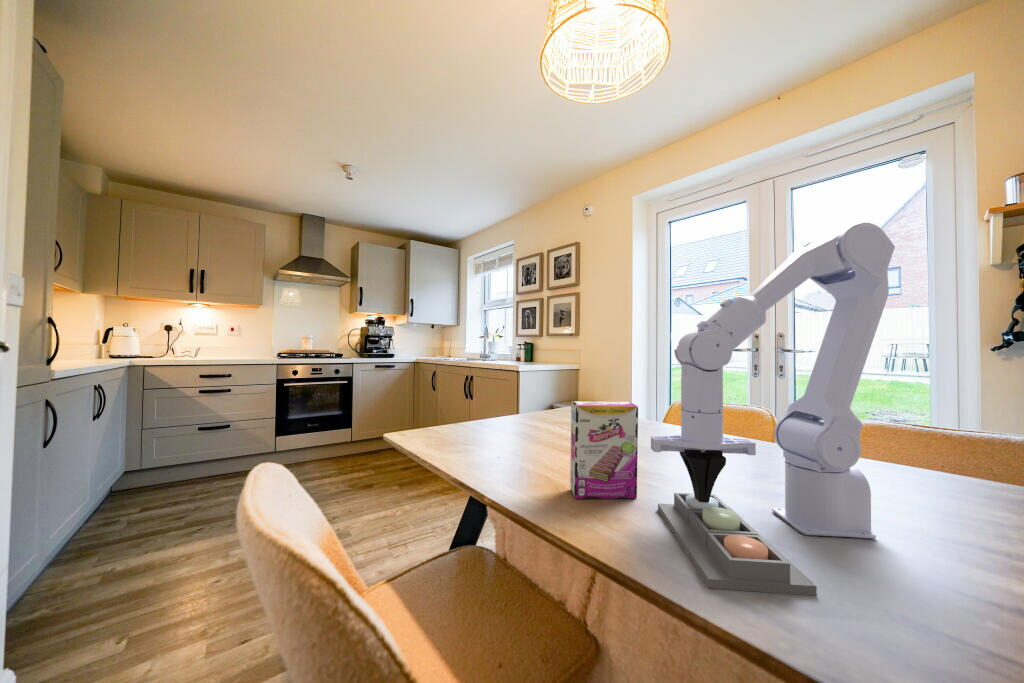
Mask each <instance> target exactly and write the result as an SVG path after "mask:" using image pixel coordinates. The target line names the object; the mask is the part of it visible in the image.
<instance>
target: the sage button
mask: <svg viewBox="0 0 1024 683" xmlns="http://www.w3.org/2000/svg"><path fill="white" fill-rule="evenodd" d="M733 511H734V510H733ZM733 511H731V510H728V509H724V508H719V507H706V508H704V509H703V524H704V525H705V526H706V527H707V528H708V530H726V531H740V517H741V515H739V513H737V512H736V511H735V512H736V513H735V512H733Z"/></svg>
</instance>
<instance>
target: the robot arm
mask: <svg viewBox="0 0 1024 683" xmlns="http://www.w3.org/2000/svg"><path fill="white" fill-rule="evenodd" d="M895 247H896V246H895V244H894V243H893V242H892V240H891V239H890V238H889V236H888V235H887V234H886V232H885V231H884V230H883V229H882V228H881V227H879V226H878V225H877V224H875V223H871V222H858V223H856V224H855V223H854V224H853V225H851V226H849V227H848V228H845V229H843V230H840V231H837V232H835V233H832V234H829V235H827V236H824V237H820V238H817V239H813V240H810V241H808V242H806V243H804V244H803V246H802V247H800V248H799V249H798V250H795V251H794V252H792V253H791V254H790V256H788V258H787V259H786V260H784V262H783V263H782V264H780V265H779V266H778V267H777V268H776V269H775V270H774V271H773V272H772V273H771V274H770V275H769V276H768V277H767V278H765V280H763V282H762V283H760V284H759V285H758V286H757V287H756V288H755V289H754V290H753V291H752V292H751V293H749V294H748V295H747V296H742V295H741V296H740V295H739V296H734V297H733V298H726V299H724V300H723V301H721V303H719V306H720V309H719V310H717V311H716V312H715V313H713V314H712V315H711V317H709V318H708V319H707V320H706V321H705V320H702V321H700V322H699V323H698V324H697V325H696V328H697V331H696V332H695V331H693V332H688V333H687V334H685V335H683V336H682V337H681V338H680V339H679V341H678V345H677V346H676V349H674V357H675V359H676V361H677V362H678V363H679V364H680V366H681V367H680V369H681V374H680V419H681V420H680V435H678V434H677V435H663V436H660V435H659V436H650V449H651V450H652V452H654V453H661V452H679V455H680V458H681V459H682V461H683V464H684V466H685V468H686V470H687V472H688V475H689V476H688V477H689V478H690V481H691V485H692V490H693V494H694V496H695V498H696V499H697V500H698V501H699V502H707V503H709V500H710V496H711V494H712V492H713V488H714V485H715V484H716V483H715V482H716V481H717V479H718V477H719V475H720V474H721V472H722V470H723V469H724V467H725V466H726V464H727V458H726V456H724V455H723V454H740V455H748V456H756V453H757V451H756V450H757V448H756V445H757V444H756V441H753V440H751V439H748V438H747V439H746V438H734V437H724V366H726V365H729V363H730V361H731V360H732V356H733V351H734V350H735V349H736V348H737V347H738V346H740V345H741V344H742V343H744V342H745V341H746V340H747V339H749V337H750V336H752V335H753V334H754V333H755V332H757V331H758V330H759V329H760V328H761V327H762V326H764V325H765V324H766V321H767V311H768V310H769V309H771V308H773V306H775V304H777V303H779V302H780V301H781V300H783V299H784V298H785V297H786V296H788V295H789V294H791V293H792V292H793V291H794V290H796V289H797V288H798V287H800V285H802V284H804V282H806V281H807V280H808V279H810V280H811V281H813V282H814V283H815V284H816V285H818V286H819V287H820V288H822V289H823V290H824V291H825V292H827V293H828V294H830V295H831V296H832V297H833V298H834V300H835V304H834V306H833V309H832V313H831V316H830V318H829V321H828V324H827V327H826V330H825V332H824V336H823V338H822V341H821V344H820V347H819V350H818V352H817V357H816V359H815V362H814V364H813V367H812V371H811V374H810V377H809V380H808V382H807V386H806V388H805V391H804V394H803V395H802V396H801V397H799V398H798V399H796V400H794V401H793V402H791V403H790V404H789V405H788V406H787V407H788V408H787V411H786V412H785V414H784V415H783V417H781V418H780V419H779V420H778V421H777V422H776V425H774V426H775V427H774V432H773V437H774V440H775V443H776V445H777V446H778V447H779V448H780V450H782V456H783V458H784V507H773V508H772V509H771V510H772V512H773V513H774V514H776V515H777V516H778V517H780V518H781V519H782V520H783V521H784V522H787V523H788V524H789V525H790V526H792V527H793V528H795V529H796V530H797V531H798V532H799V533H801V534H802V535H803V534H804V535H807V536H820V537H821V536H825V537H839V538H840V537H845V538H846V537H847V538H863V539H876V538H877V535H876V533H873V532H872V492H871V486H870V484H869V481H868V478H867V477H866V476H865V474H864V473H863V472H862V471H860V469H858V468H856V467H855V466H856V464H857V463H858V461H859V459H860V457H861V455H862V444H861V443H862V442H861V433H862V430H863V427H864V426H863V423H862V422H861V420H860V419H859V418H858V416H856V414H855V413H854V412H853V410H852V408H851V407H852V406H851V405H852V404H853V400H854V397H855V395H856V392H857V388H858V385H859V384H860V383H859V382H860V380H861V377H862V374H863V372H864V368H865V365H866V362H867V359H868V356H869V353H870V350H871V347H872V345H873V341H874V338H875V336H876V332H877V331H878V330H877V329H878V326H879V323H880V321H881V317H882V316H883V312H884V310H885V307H886V303H887V301H888V297H889V276H888V274H889V272H888V268H889V266H890V264H891V260H892V256H893V254H894V252H895Z"/></svg>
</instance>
